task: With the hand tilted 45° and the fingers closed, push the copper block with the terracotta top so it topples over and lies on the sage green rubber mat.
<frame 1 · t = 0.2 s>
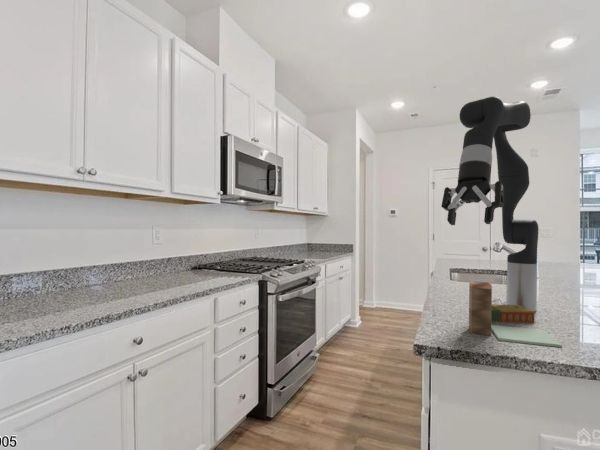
hand: (468, 223, 84), 31 cm above the counter, tool tilted 20°, fingers open, 8 cm apart
carton: (501, 319, 111), on the counter
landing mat: (522, 336, 93), on the counter
copper block: (479, 331, 97), on the counter
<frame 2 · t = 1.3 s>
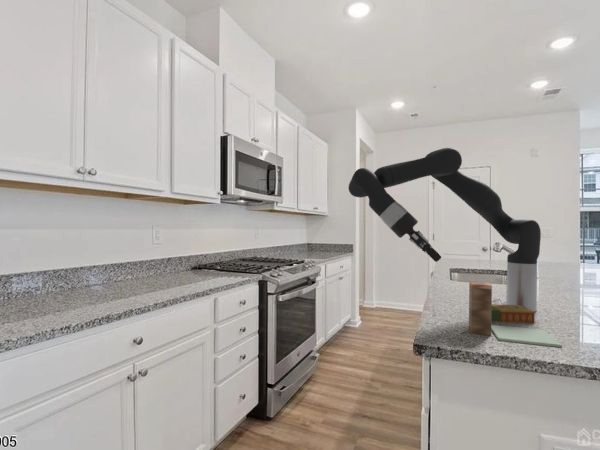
hand: (438, 258, 100), 21 cm above the counter, tool tilted 45°, fingers open, 7 cm apart
nothing on the counter moved.
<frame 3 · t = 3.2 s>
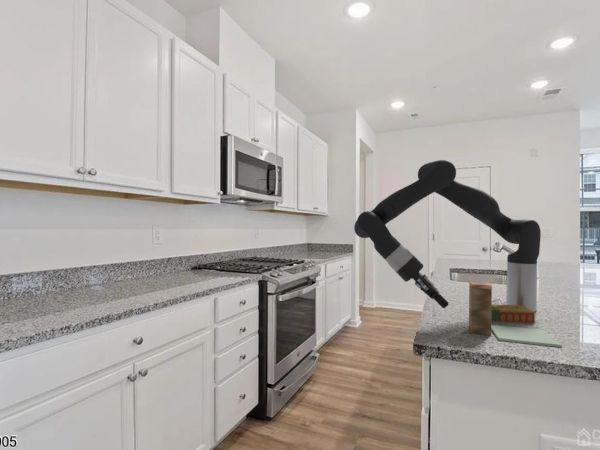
hand: (446, 305, 100), 7 cm above the counter, tool tilted 45°, fingers closed
nothing on the counter moved.
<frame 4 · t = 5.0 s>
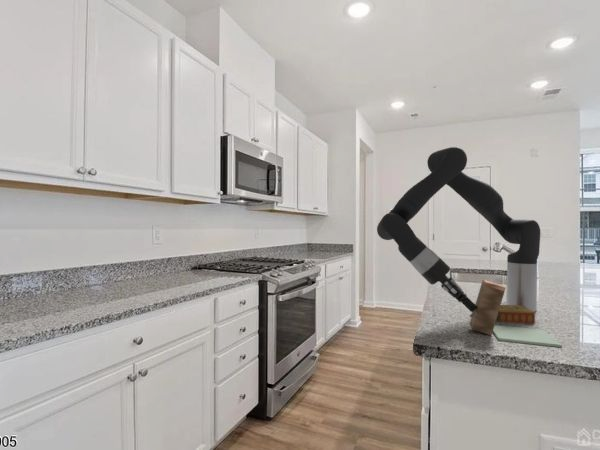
hand: (474, 309, 97), 6 cm above the counter, tool tilted 45°, fingers closed
copper block: (480, 329, 97), point 1 cm above the counter, tilted 14°, touching gripper
everything else where it was.
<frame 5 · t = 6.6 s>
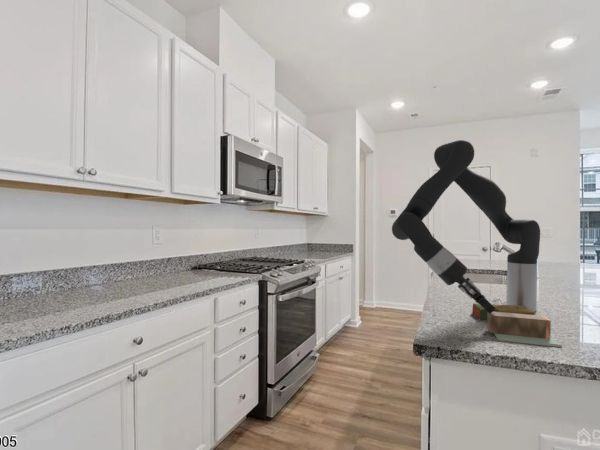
hand: (492, 310, 96), 6 cm above the counter, tool tilted 45°, fingers closed
copper block: (489, 321, 96), point 3 cm above the counter, tilted 90°, touching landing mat
everything else where it was.
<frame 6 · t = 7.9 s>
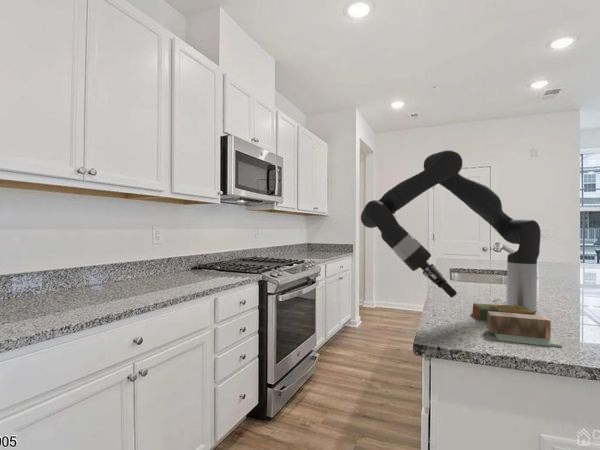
hand: (454, 295, 99), 10 cm above the counter, tool tilted 45°, fingers closed
nothing on the counter moved.
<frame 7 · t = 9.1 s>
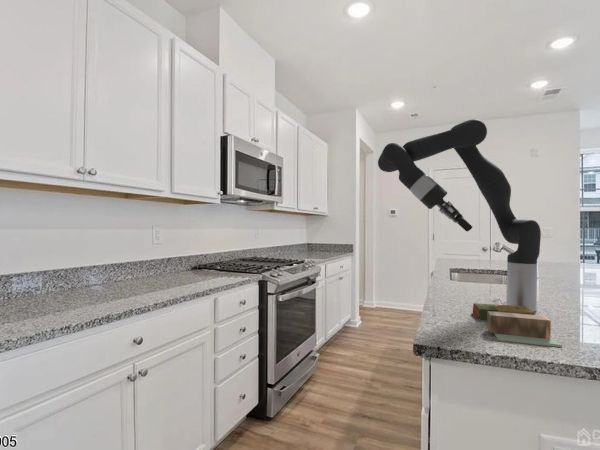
hand: (469, 229, 104), 29 cm above the counter, tool tilted 45°, fingers closed
nothing on the counter moved.
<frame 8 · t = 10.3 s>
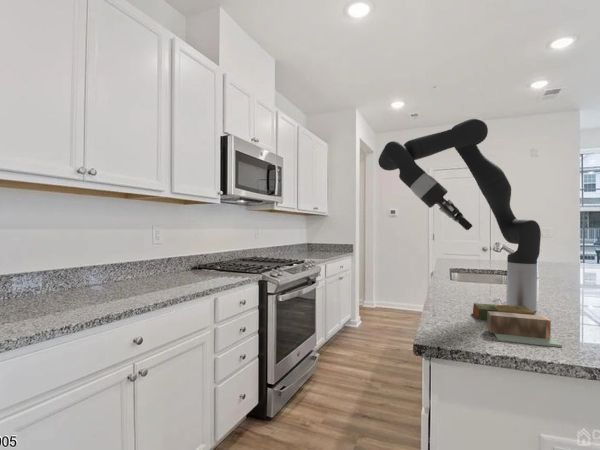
hand: (469, 228, 104), 30 cm above the counter, tool tilted 45°, fingers closed
nothing on the counter moved.
at the end: copper block tilted 90°; copper block touching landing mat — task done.
